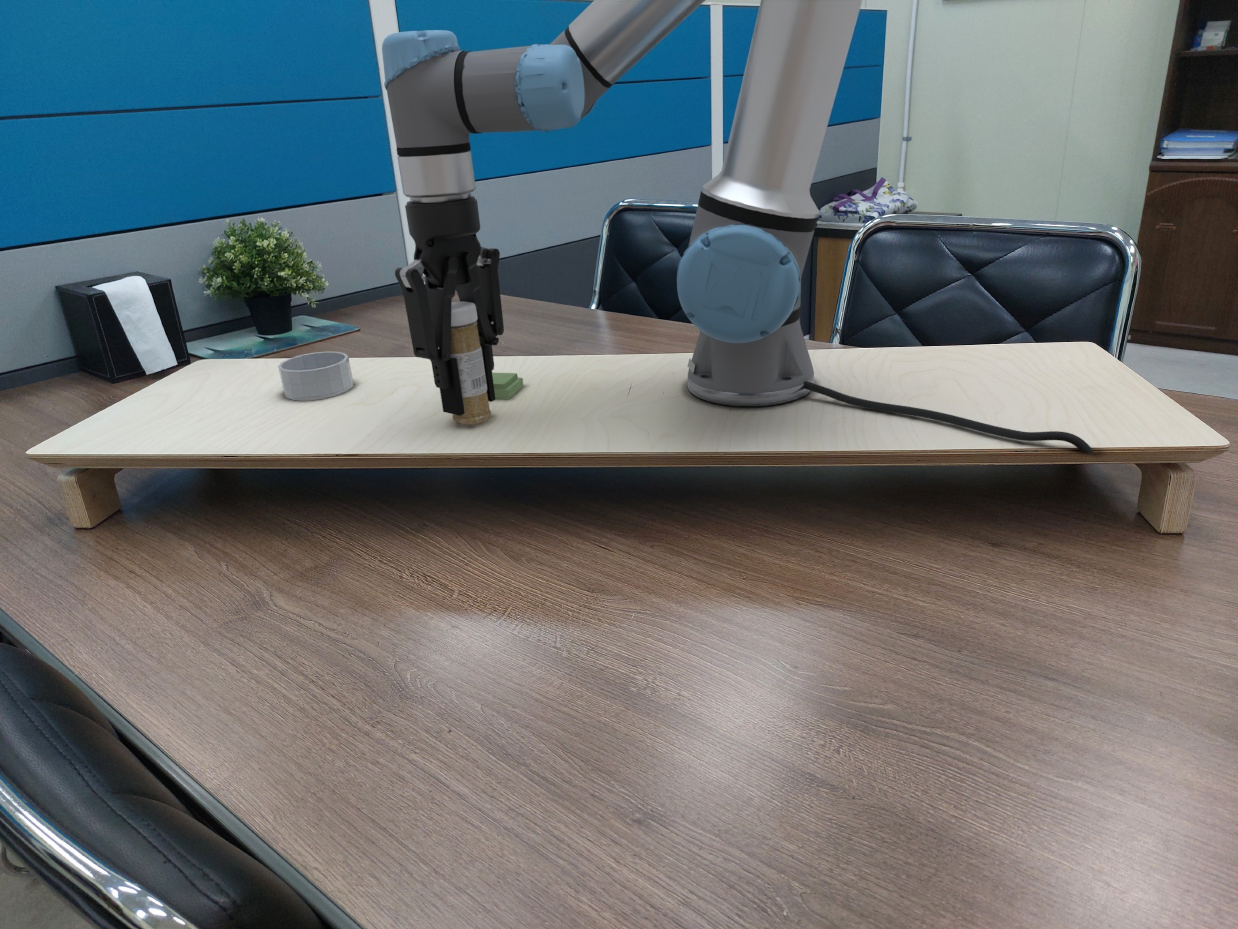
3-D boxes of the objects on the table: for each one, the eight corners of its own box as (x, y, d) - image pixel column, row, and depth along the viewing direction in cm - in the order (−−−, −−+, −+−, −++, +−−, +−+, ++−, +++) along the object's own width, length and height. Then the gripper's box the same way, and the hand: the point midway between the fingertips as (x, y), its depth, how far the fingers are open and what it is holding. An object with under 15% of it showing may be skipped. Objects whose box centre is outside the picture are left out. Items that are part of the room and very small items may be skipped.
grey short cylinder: (365, 380, 115) (360, 352, 113) (329, 401, 107) (323, 372, 106) (310, 378, 117) (304, 350, 116) (271, 399, 110) (264, 370, 108)
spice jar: (479, 409, 100) (462, 298, 95) (499, 417, 97) (483, 303, 92) (445, 419, 98) (426, 306, 93) (464, 428, 95) (446, 311, 89)
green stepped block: (523, 386, 108) (522, 372, 108) (509, 399, 104) (507, 384, 103) (467, 384, 110) (465, 370, 110) (450, 397, 106) (448, 382, 105)
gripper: (473, 186, 96) (497, 379, 105) (349, 207, 83) (389, 424, 93) (522, 187, 92) (542, 388, 101) (399, 209, 79) (436, 436, 89)
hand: (469, 405), depth 97 cm, fingers closed on spice jar, 4 cm apart
